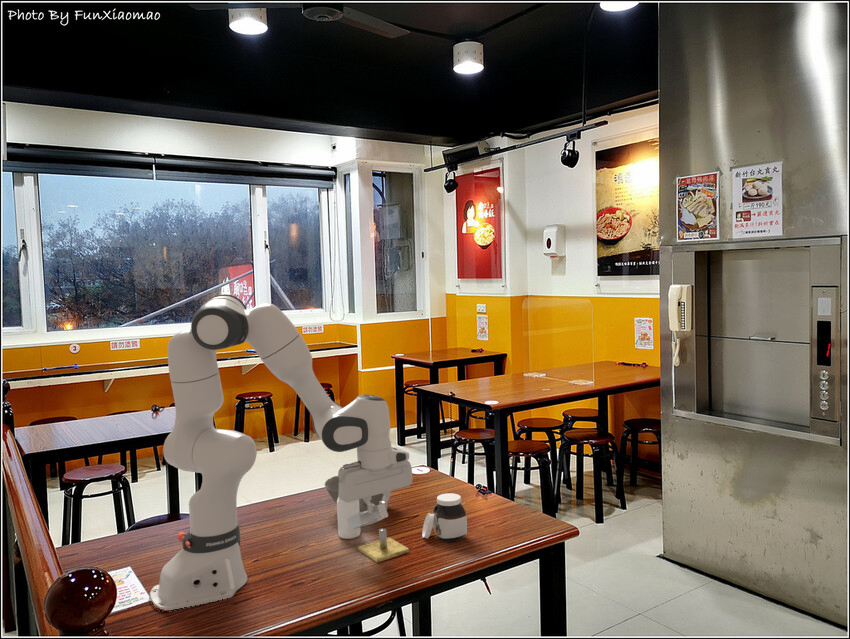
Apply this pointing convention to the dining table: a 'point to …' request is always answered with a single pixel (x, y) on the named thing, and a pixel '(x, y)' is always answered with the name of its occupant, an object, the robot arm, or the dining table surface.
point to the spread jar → (447, 519)
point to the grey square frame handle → (367, 517)
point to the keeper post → (383, 548)
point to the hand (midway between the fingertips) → (377, 510)
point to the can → (343, 514)
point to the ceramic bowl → (333, 490)
